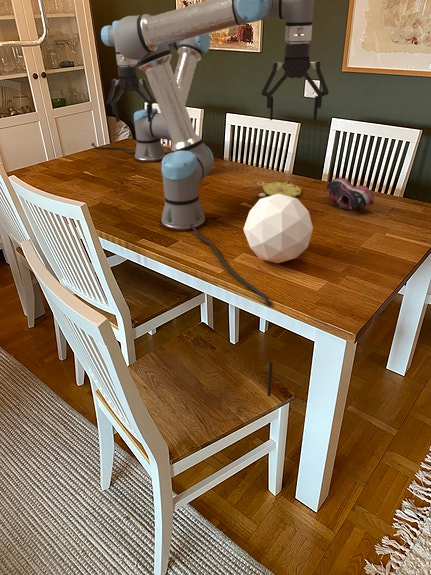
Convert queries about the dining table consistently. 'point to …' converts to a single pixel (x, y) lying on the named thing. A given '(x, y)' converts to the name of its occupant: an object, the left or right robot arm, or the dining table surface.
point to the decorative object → (280, 189)
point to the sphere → (278, 228)
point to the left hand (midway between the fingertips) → (133, 121)
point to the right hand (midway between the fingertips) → (292, 119)
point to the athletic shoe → (349, 194)
